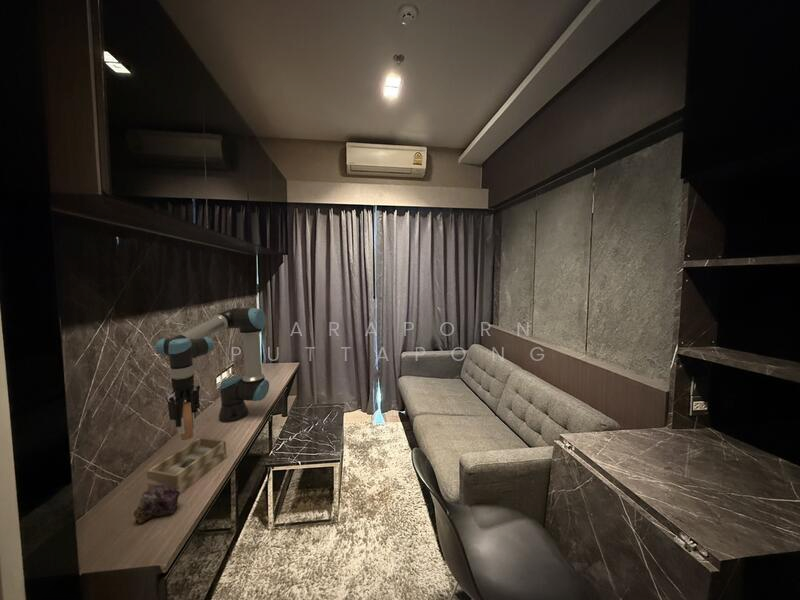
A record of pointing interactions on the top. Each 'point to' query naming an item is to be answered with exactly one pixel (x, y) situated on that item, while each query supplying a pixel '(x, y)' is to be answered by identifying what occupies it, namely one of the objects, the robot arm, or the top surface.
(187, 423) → the peg
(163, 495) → the rock
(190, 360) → the robot arm
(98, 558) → the top surface
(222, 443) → the box
